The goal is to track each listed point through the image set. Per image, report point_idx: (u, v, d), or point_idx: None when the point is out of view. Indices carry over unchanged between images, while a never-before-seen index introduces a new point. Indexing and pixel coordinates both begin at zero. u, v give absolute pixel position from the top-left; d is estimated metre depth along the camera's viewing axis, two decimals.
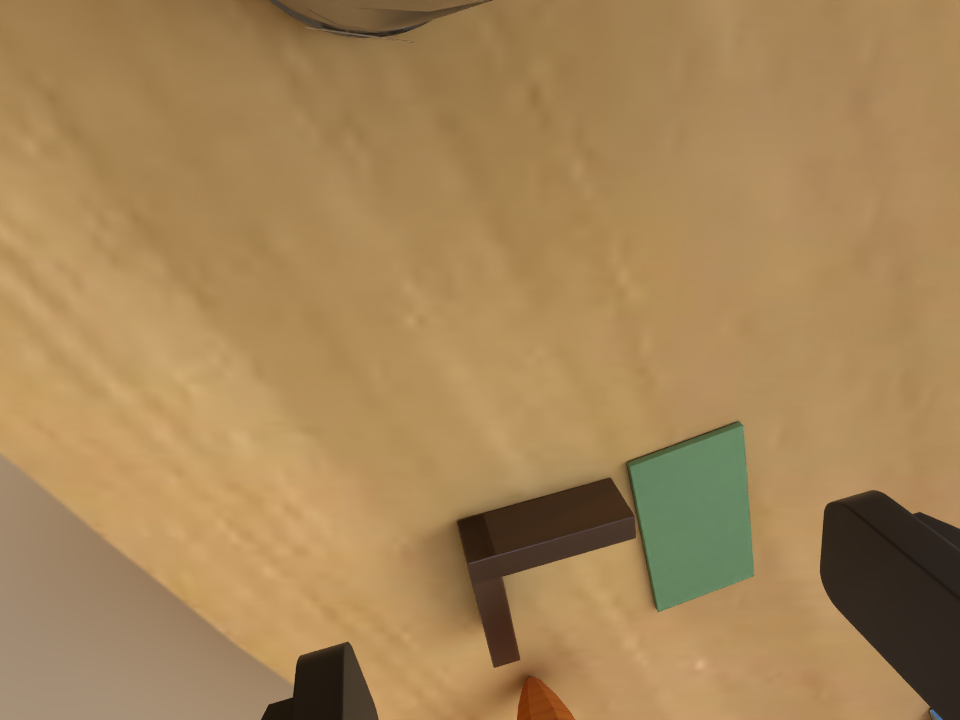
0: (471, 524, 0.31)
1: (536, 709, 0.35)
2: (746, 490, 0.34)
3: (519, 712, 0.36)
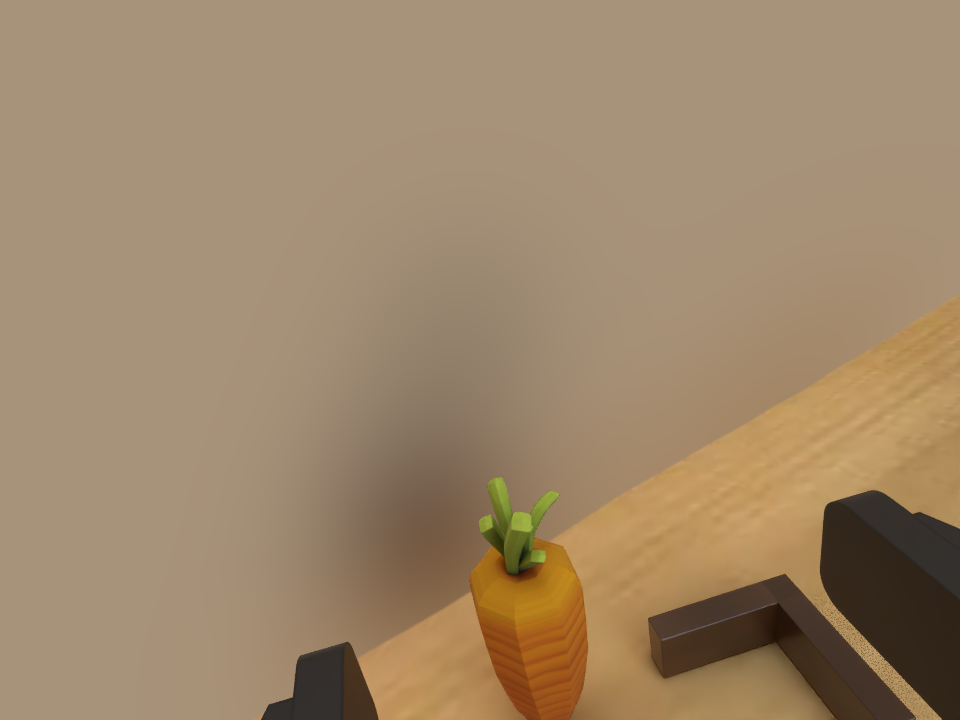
0: None
1: None
2: None
3: None
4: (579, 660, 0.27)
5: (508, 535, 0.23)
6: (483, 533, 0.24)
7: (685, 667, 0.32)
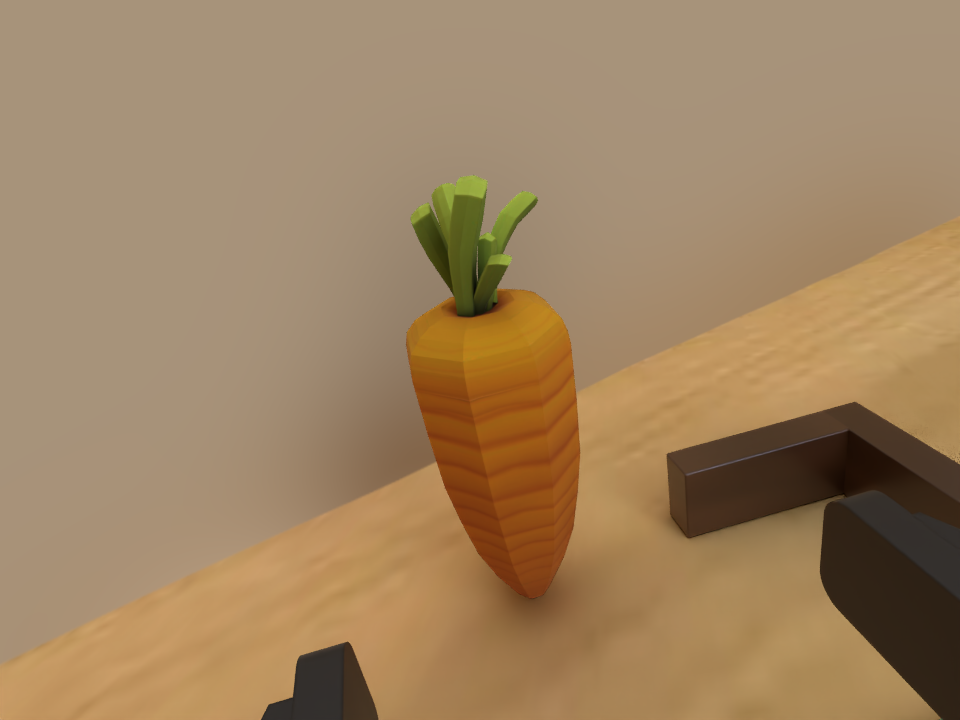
0: None
1: None
2: None
3: None
4: (566, 464, 0.18)
5: (451, 214, 0.15)
6: (417, 227, 0.16)
7: (717, 523, 0.23)
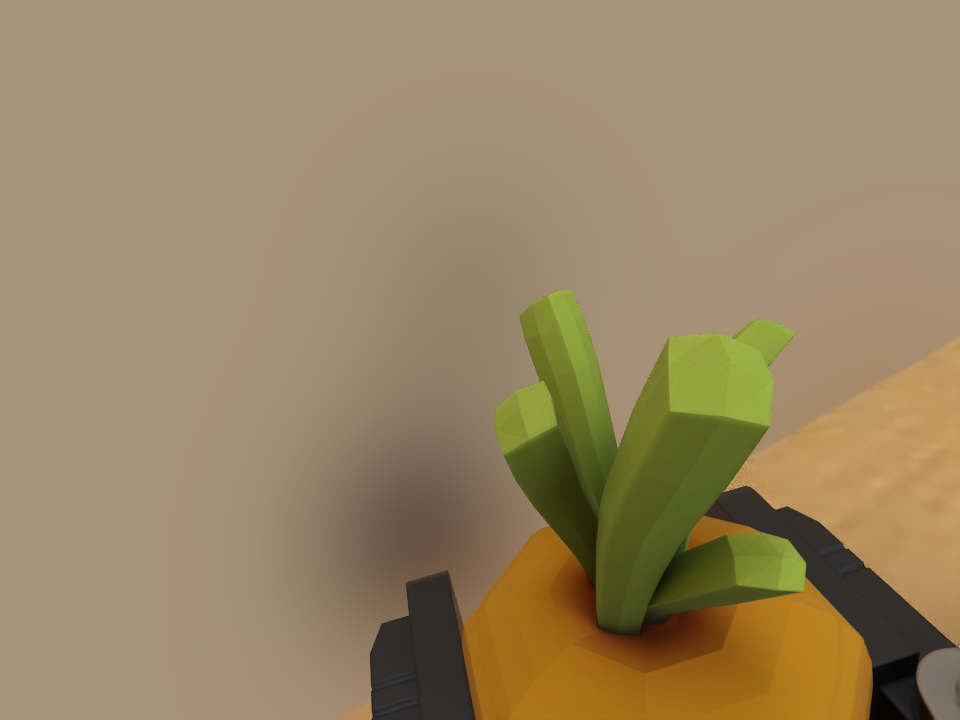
0: None
1: None
2: None
3: None
4: None
5: (642, 454, 0.05)
6: (515, 458, 0.05)
7: None
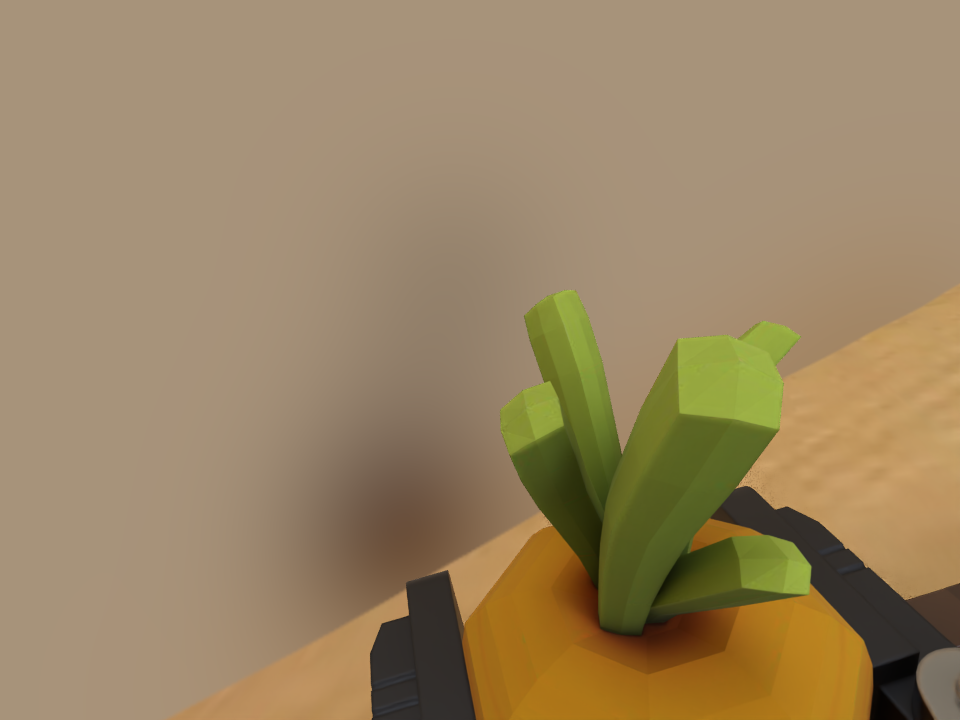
0: None
1: None
2: None
3: None
4: None
5: (649, 456, 0.05)
6: (520, 459, 0.05)
7: None
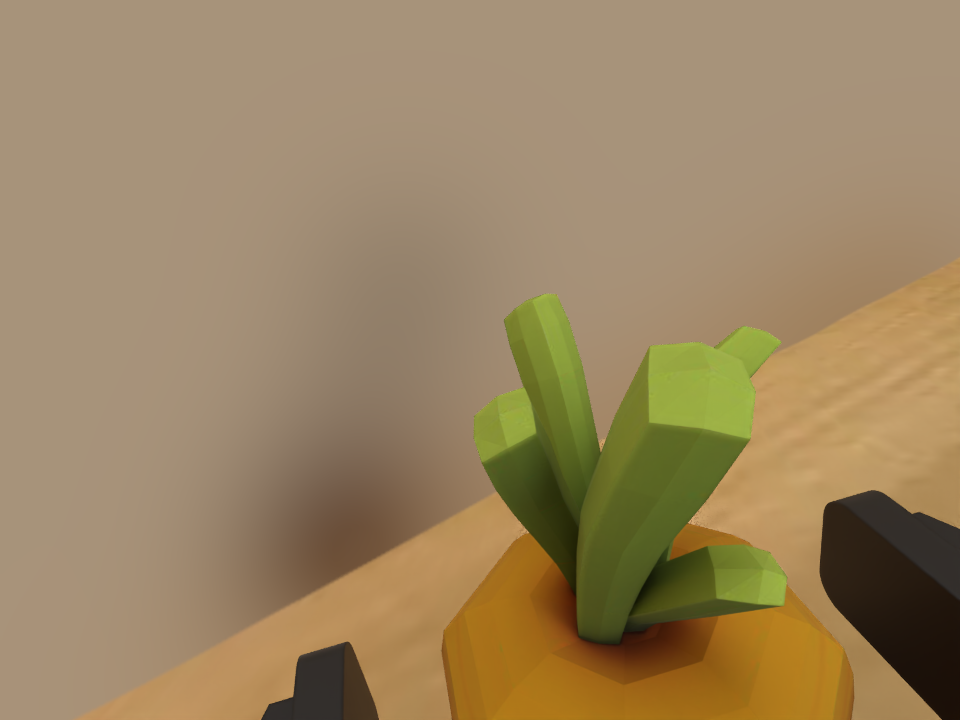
0: None
1: None
2: None
3: None
4: None
5: (621, 465, 0.05)
6: (493, 466, 0.05)
7: None
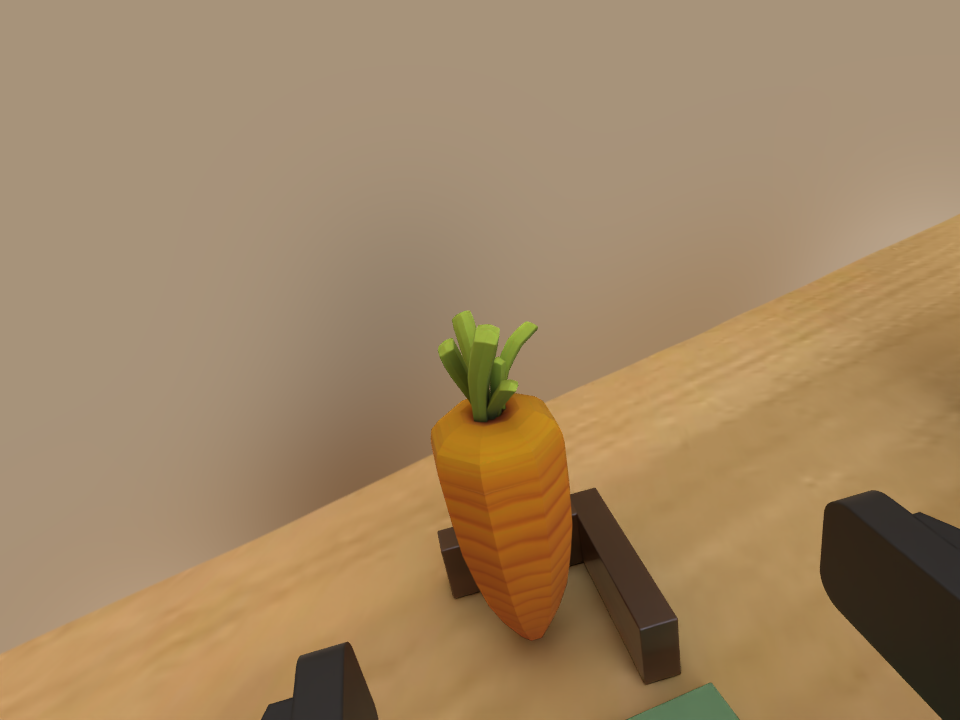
0: None
1: None
2: None
3: None
4: (561, 536, 0.22)
5: (471, 353, 0.19)
6: (443, 358, 0.20)
7: (477, 587, 0.29)
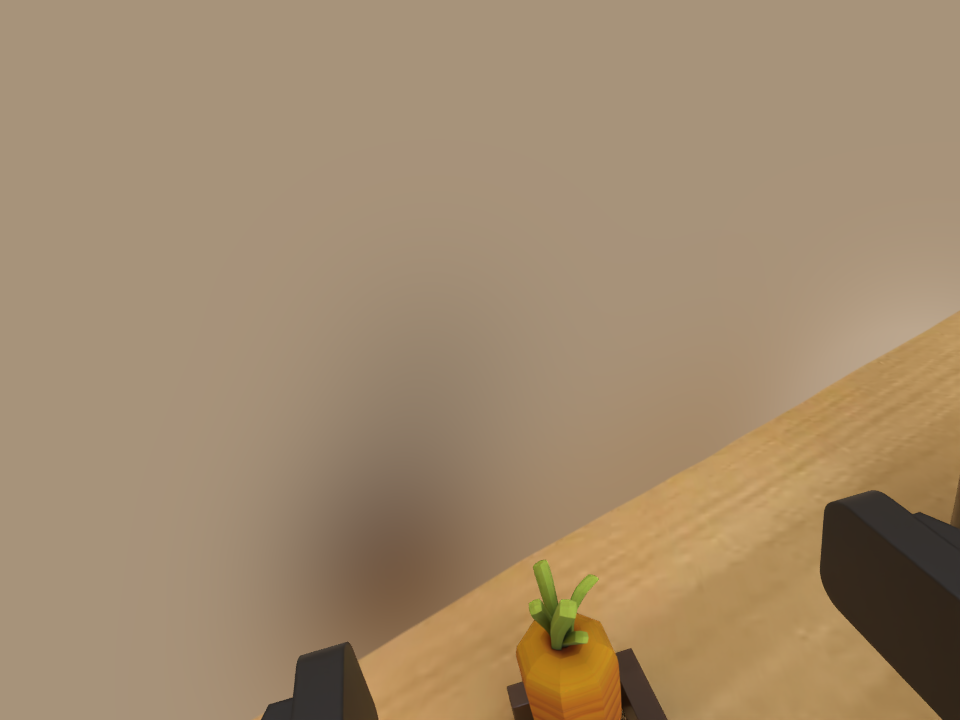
0: None
1: None
2: None
3: None
4: None
5: (556, 619, 0.26)
6: (533, 615, 0.27)
7: None
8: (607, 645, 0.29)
